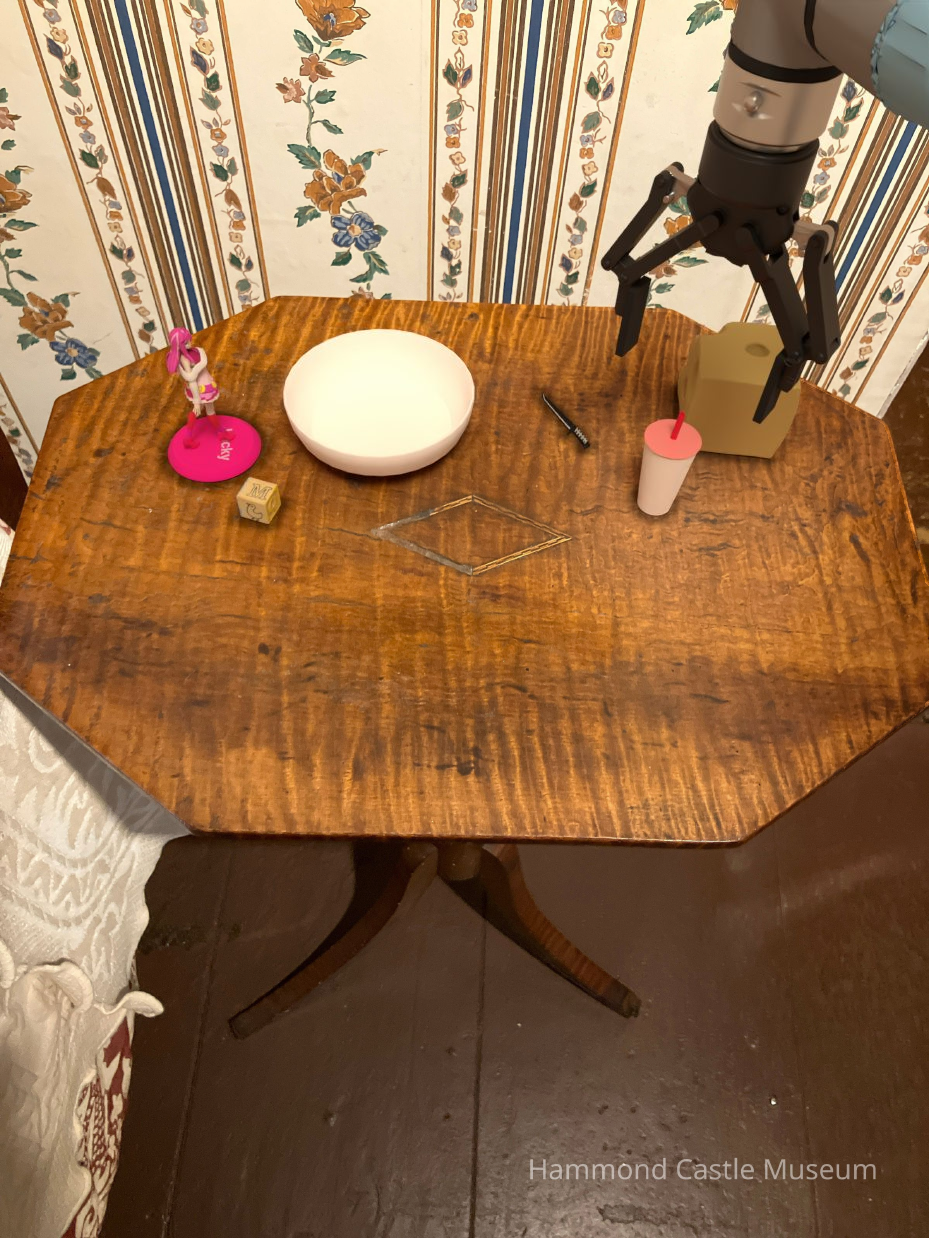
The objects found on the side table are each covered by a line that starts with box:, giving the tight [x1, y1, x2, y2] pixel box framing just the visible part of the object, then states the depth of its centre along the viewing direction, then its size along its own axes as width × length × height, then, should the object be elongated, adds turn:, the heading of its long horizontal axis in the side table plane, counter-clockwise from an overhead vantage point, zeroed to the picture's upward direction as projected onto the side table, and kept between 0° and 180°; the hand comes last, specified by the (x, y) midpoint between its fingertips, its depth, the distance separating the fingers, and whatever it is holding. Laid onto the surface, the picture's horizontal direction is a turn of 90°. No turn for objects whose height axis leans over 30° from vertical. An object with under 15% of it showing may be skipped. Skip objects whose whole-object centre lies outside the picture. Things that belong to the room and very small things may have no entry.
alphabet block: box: [235, 476, 282, 525], centre depth 86 cm, size 3×3×3 cm
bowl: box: [282, 328, 476, 477], centre depth 92 cm, size 20×20×6 cm
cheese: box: [677, 321, 802, 459], centre depth 92 cm, size 10×11×10 cm
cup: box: [636, 410, 702, 516], centre depth 85 cm, size 5×5×12 cm
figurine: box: [165, 326, 262, 483], centre depth 86 cm, size 10×10×15 cm
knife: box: [542, 392, 591, 450], centre depth 96 cm, size 10×2×1 cm, turn 27°
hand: (692, 380), depth 76 cm, fingers open, 13 cm apart
